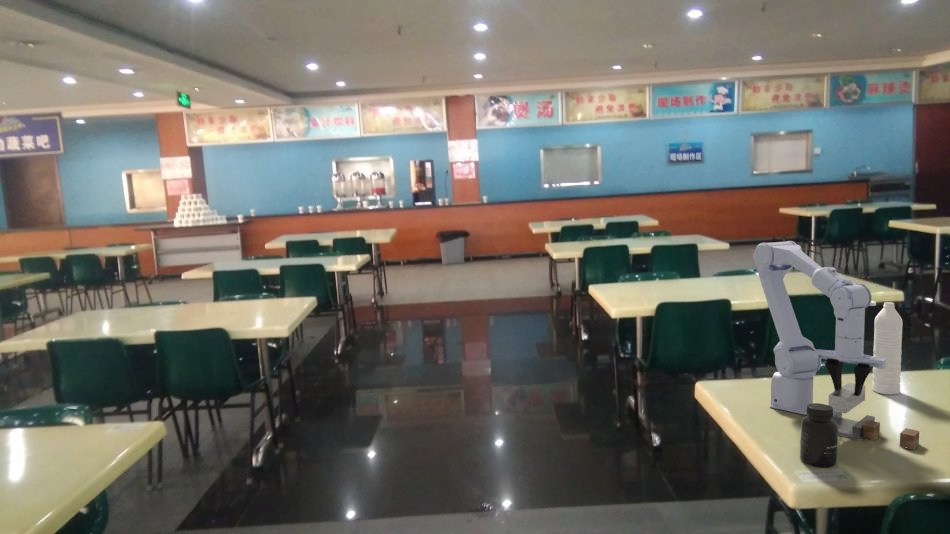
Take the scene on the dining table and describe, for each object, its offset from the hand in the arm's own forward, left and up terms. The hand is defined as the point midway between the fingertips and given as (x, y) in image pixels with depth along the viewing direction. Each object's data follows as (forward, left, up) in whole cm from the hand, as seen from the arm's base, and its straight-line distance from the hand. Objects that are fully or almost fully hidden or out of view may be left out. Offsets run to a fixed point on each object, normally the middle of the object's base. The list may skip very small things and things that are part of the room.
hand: (847, 393), depth 149 cm
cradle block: (0, 0, -9) cm, 9 cm away
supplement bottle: (+2, -23, -9) cm, 25 cm away
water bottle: (-3, +36, -9) cm, 37 cm away
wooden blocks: (+9, -1, -9) cm, 13 cm away
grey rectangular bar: (0, 0, -3) cm, 3 cm away
